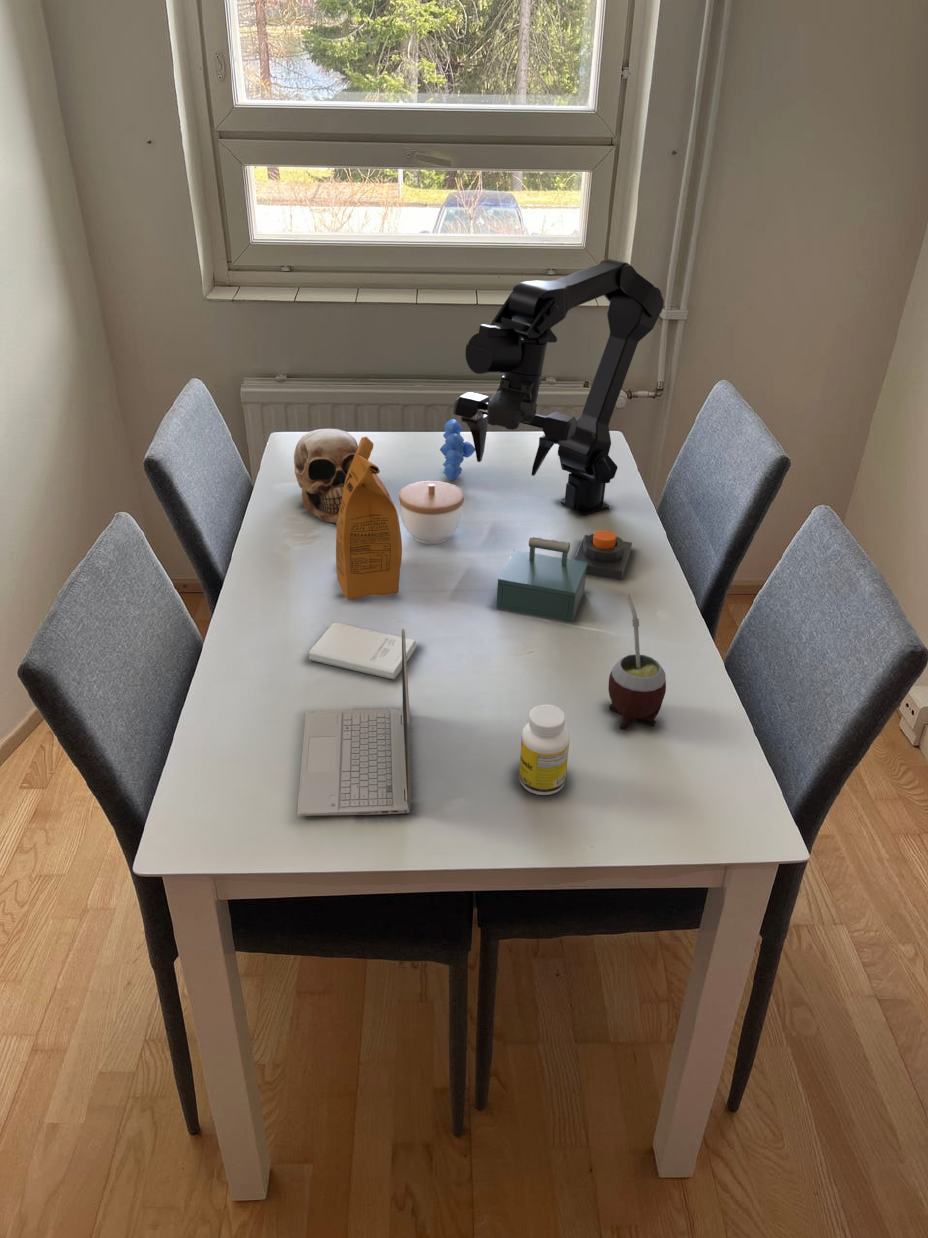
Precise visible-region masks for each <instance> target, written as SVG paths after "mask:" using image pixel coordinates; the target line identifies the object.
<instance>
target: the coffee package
mask: <svg viewBox="0 0 928 1238" xmlns="http://www.w3.org/2000/svg"><path fill="white" fill-rule="evenodd" d="M373 449H374V442H373V441H372V440H371V439H370V438H368V436H362V437H361V438H360V439H359V443H358V449H357V451H356V454H355V456H354V458H353V461H352V464H351V466H350V468H349V470H348V473H347V476H346V479H345V484H344V491H343V496H342V500H341V504H340V508H339V513H338V518H337V524H336V535H335V564H336V566H335V567H336V577H337V578H336V579H337V582H338V584H339V587H340V590H341V592H342V594H343V596H344V598H345V599H347V600H356V599H360V598H366V597H370V596H389V595H393V594H396V593H398V592H399V589H400V578H401V577H400V576H401V568H402V567H401V566H402V560H403V559H402V558H403V543H402V542H403V541H402V532H401V526H400V520H399V519H400V518H399V514H398V511H397V509H396V506H395V504H394V502H393V500H392V498H391V495H390V493H389V490H388V489H387V487H386V486H385V484H384V483H383V481H382V480H381V478H380V477H379V474H380V472H381V470H380V468H379V466H378V465H376V464H374V463H373V462H371V461H370V460H369V459H370V457H371V454H372V452H373Z"/></svg>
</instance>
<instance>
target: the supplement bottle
mask: <svg viewBox="0 0 928 1238" xmlns="http://www.w3.org/2000/svg"><path fill="white" fill-rule="evenodd" d="M565 725H566V714H565V712H564V711H563V710H562V709H561V708H559V707H557V706H555V705H553V704H540V705H537V706H534V707H532V709H531V710H530V712H529V717H528V723H526V724H525V726H524V727H523V729H522V731H521V739H520V740H521V743H520V759H519V771H518V772H519V773H518V778H519V782H520V784H521V786H522V787H523V788H524V789H525V790H526V791H527V792H529V793H532V794H534V795H537V796H548V795H553V794H556V793H558V792H559V791H561V790H562V788H563V787H564V785H565V784H566V777H567V769H568V759H569V758H568V757H569V750H570V748H569V747H570V732H569V730H568V728H567V727H566V726H565Z"/></svg>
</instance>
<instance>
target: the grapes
mask: <svg viewBox="0 0 928 1238" xmlns="http://www.w3.org/2000/svg"><path fill="white" fill-rule="evenodd" d="M443 428H444V431H445V432H444V433H443V434H442V436H443V438H444V439H445V440H444V443H443V444H442V445H441V447H440V449H439V451H440V452H441V453H442V455H443V456H444V459H445V461H444V462H443V463H442V465H443V467H444V470H443V474H444V475H445V477H446V478H447V479H448V480H450V481H454V480H456V479H457V478H458V477H459V476H460V475H461V473H462V471H463V468H462V467H461V464H462V463H463V462H464V460H465V458H470V457H471V456H472V455H473V454H474V453H475V446H474V444H472V442H469V441H465V438H464V437H463V436H462V435H461V432H462V431H463V427H462V425H461V424H460V423H459V422H458V420H456V419H455V418H451V419H448V421H447V422H446V423H445V424H444V425H443Z"/></svg>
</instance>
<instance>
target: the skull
mask: <svg viewBox="0 0 928 1238" xmlns="http://www.w3.org/2000/svg"><path fill="white" fill-rule="evenodd" d="M358 446H359V443H358V442H357V440H356V438H355V437H354V436H353V435H352V434H350V433H349V432H347V431H345V430H342V429H338V428H318V429H315V430H311V431H308V432H307V433H305V434H304V435H302V436H301V437H300V439H299V440H298V441H297V443H296V446H295V448H294V452H293V464H294V475H295V477H296V481H297V483H298V487H299V488H300V489H301V502H302V505H303V507H304V508H305V509H306V510H307V512H309V513H310V514H312V515H313V516H314V517H315V518H319V520H320V521H321V522H325V523H332V524H336V525H337V518H338V513H339V508H340V504H341V500H342V496H343V491H344V484H345V479H346V476H347V473H348V470H349V468H350V466H351V464H352V461H353V458H354V456H355V454H356V451H357V449H358Z"/></svg>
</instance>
